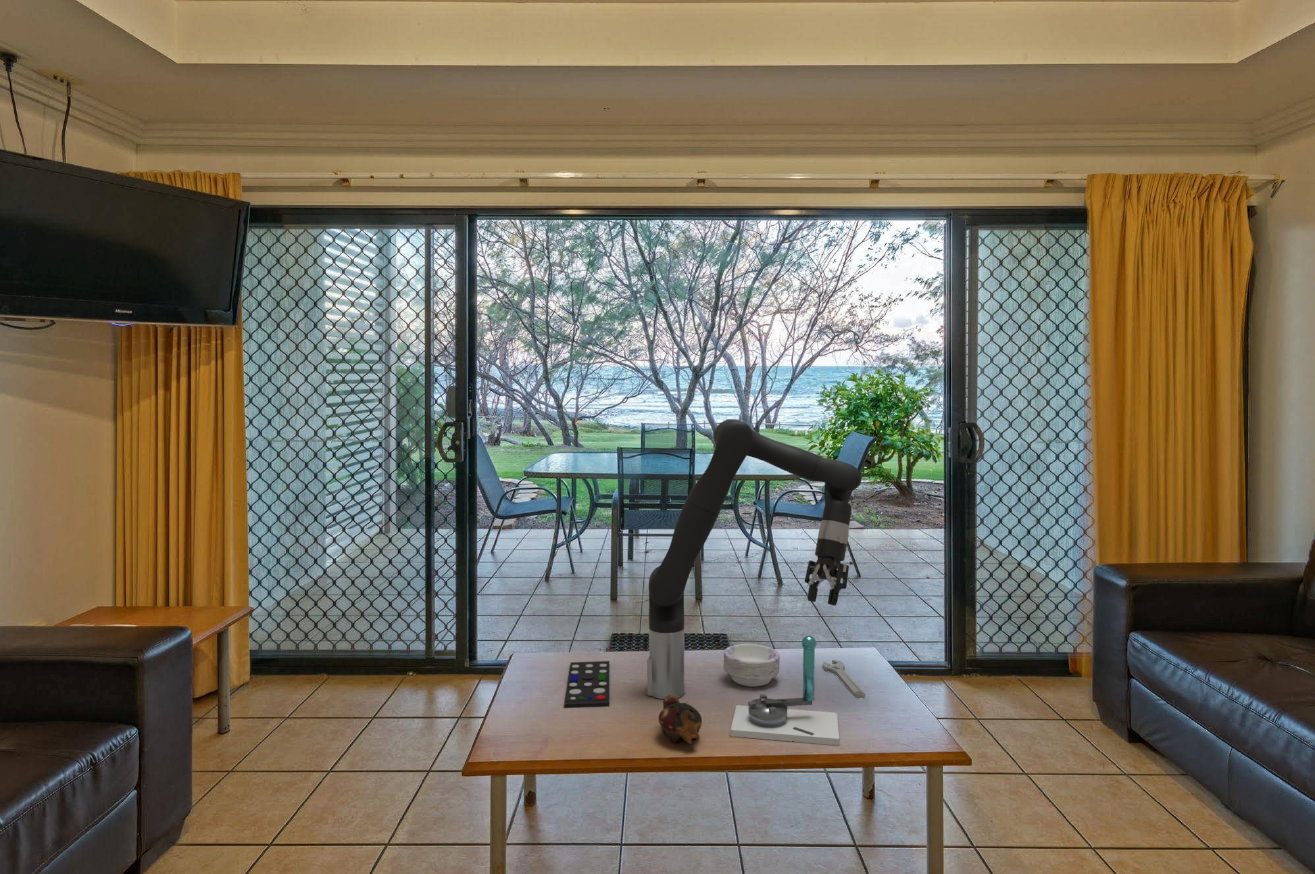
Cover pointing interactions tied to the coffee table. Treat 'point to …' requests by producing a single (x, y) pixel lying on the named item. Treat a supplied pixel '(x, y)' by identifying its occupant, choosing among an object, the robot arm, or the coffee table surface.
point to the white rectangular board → (790, 727)
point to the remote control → (588, 685)
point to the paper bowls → (751, 664)
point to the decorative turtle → (679, 720)
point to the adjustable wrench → (844, 677)
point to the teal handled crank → (776, 709)
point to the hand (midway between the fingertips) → (821, 603)
